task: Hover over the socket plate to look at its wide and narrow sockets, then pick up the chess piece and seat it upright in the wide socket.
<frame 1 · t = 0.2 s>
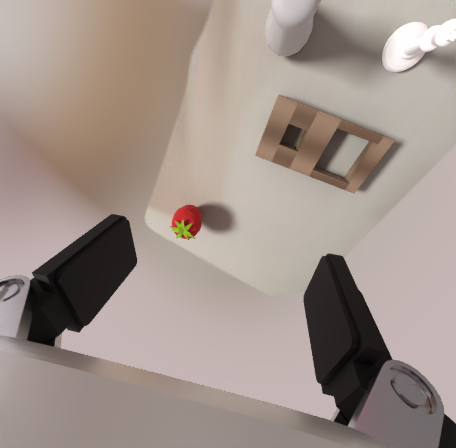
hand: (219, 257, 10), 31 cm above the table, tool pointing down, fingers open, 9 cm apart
strawberry: (195, 209, 45), on the table
salt shaker: (287, 32, 27), on the table
chess piece: (403, 49, 26), on the table
socket plate: (316, 144, 34), on the table
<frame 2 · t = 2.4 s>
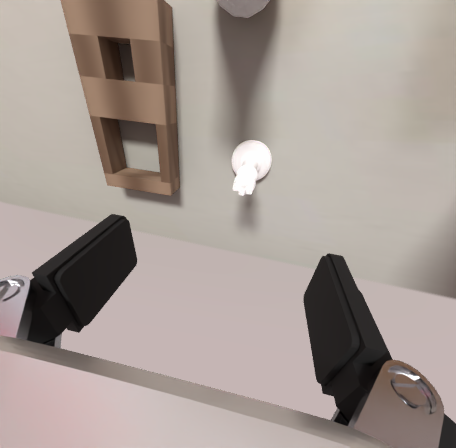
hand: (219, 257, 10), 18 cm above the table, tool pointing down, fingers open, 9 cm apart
chess piece: (251, 160, 25), on the table
socket plate: (140, 111, 24), on the table
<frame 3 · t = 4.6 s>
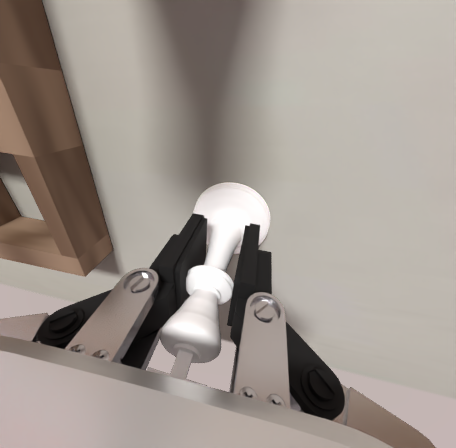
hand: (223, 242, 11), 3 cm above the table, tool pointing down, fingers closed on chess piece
chess piece: (232, 216, 13), on the table, touching gripper
socket plate: (12, 123, 12), on the table
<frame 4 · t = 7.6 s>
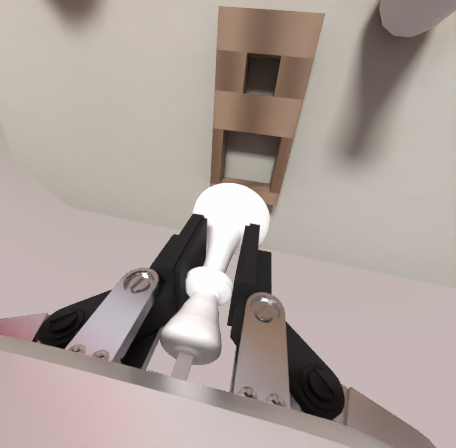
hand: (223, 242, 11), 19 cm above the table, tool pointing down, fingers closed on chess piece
chess piece: (231, 217, 13), point 16 cm above the table, touching gripper
socket plate: (255, 123, 24), on the table
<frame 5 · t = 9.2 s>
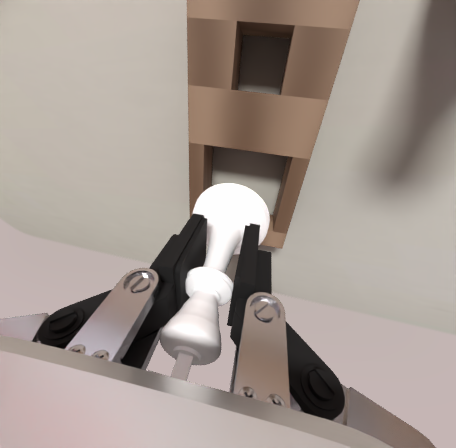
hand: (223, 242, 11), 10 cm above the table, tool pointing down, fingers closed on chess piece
chess piece: (231, 217, 13), point 7 cm above the table, touching gripper
socket plate: (252, 134, 17), on the table
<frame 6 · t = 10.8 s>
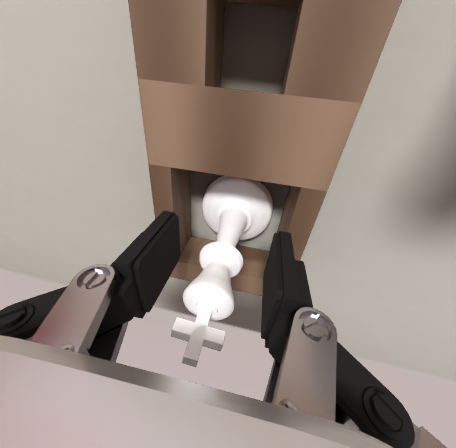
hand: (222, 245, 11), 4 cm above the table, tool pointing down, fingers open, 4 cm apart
chess piece: (237, 206, 14), resting in socket plate
socket plate: (242, 149, 12), on the table
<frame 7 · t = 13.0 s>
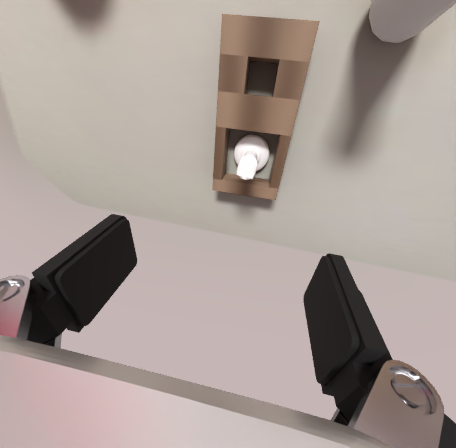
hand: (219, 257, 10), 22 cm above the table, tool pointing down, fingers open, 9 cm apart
salt shaker: (393, 8, 19), on the table
chess piece: (251, 153, 28), resting in socket plate
socket plate: (255, 122, 26), on the table
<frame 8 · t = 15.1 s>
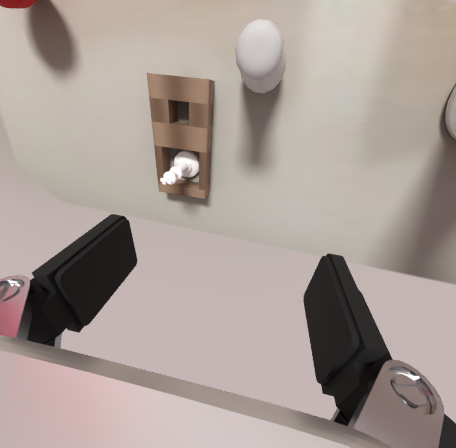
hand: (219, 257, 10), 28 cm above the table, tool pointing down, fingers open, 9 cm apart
salt shaker: (263, 68, 28), on the table
chess piece: (188, 163, 37), resting in socket plate
socket plate: (186, 141, 35), on the table
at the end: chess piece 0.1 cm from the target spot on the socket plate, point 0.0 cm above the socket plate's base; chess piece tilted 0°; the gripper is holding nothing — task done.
